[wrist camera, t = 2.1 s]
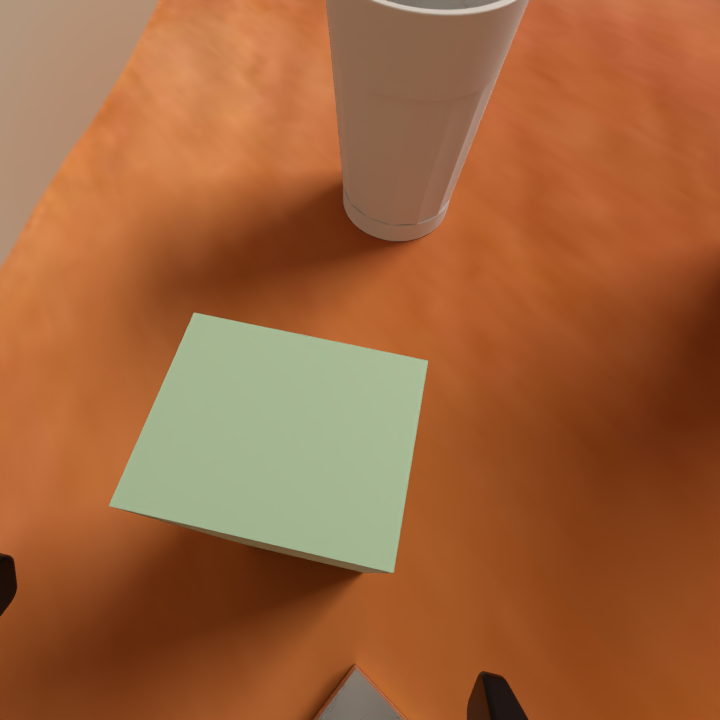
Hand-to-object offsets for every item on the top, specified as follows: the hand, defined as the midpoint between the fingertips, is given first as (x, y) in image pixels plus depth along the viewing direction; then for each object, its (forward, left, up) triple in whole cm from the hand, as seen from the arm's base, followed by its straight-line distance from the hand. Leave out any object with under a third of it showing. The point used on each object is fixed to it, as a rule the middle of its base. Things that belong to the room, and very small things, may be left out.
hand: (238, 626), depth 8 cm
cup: (+19, +11, -11) cm, 24 cm away
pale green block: (+3, +2, -10) cm, 11 cm away
